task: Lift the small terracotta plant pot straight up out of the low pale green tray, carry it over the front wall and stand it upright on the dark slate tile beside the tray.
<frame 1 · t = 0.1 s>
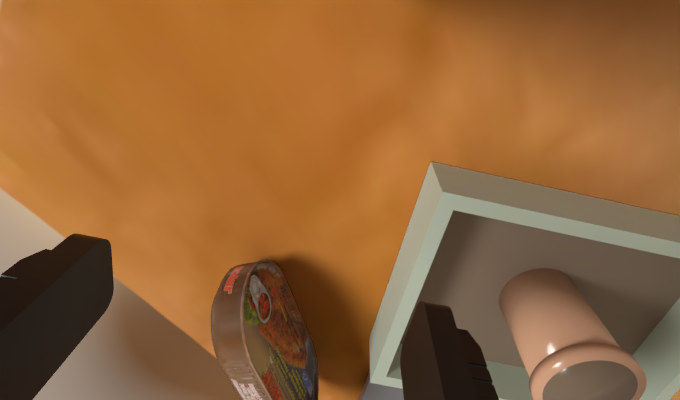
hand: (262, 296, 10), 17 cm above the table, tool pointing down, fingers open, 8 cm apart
clay pot: (536, 297, 30), point 1 cm above the table, touching pale green tray
pale green tray: (531, 288, 31), on the table
tin: (282, 310, 34), on the table
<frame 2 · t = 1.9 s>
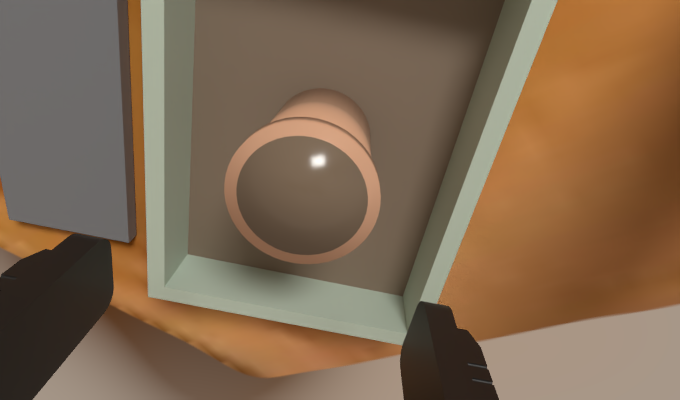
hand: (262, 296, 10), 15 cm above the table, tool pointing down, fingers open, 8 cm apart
clay pot: (321, 137, 23), point 1 cm above the table, touching pale green tray
pale green tray: (323, 132, 24), on the table
slate tile: (62, 78, 23), on the table
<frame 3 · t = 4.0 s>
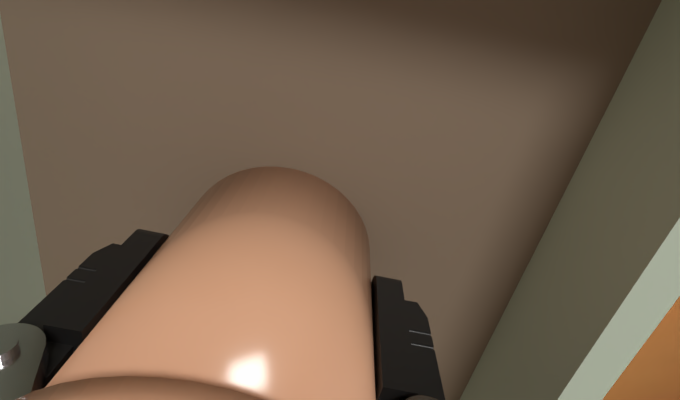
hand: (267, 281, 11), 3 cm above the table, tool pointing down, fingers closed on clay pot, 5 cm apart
clay pot: (278, 251, 12), point 1 cm above the table, touching pale green tray, gripper
pale green tray: (283, 234, 13), on the table
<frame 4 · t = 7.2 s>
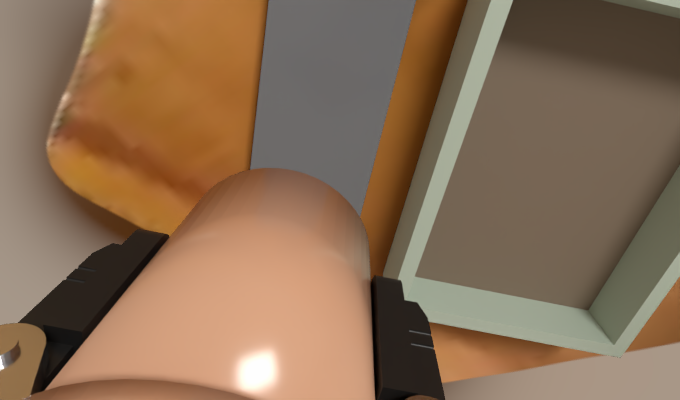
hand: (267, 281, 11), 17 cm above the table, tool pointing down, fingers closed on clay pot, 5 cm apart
clay pot: (278, 252, 12), point 15 cm above the table, touching gripper
pale green tray: (545, 168, 27), on the table
slate tile: (320, 120, 26), on the table
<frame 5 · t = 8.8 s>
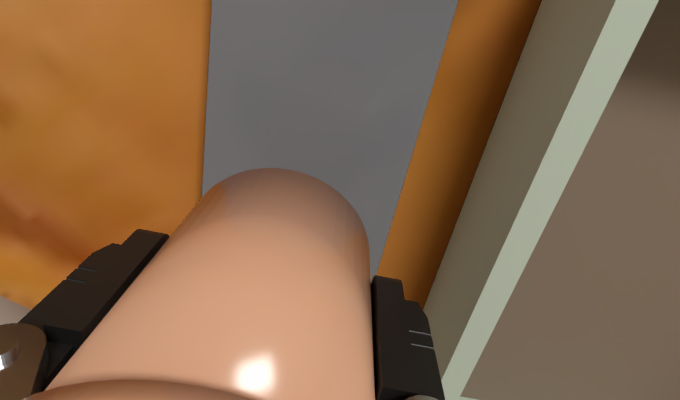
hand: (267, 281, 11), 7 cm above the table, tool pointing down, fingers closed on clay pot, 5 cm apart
clay pot: (278, 252, 12), point 6 cm above the table, touching gripper
pale green tray: (642, 251, 18), on the table
slate tile: (303, 182, 17), on the table
when the fingers open (4 cm above the table, at t = 10.4 s): clay pot drops 1 cm, resting on slate tile.
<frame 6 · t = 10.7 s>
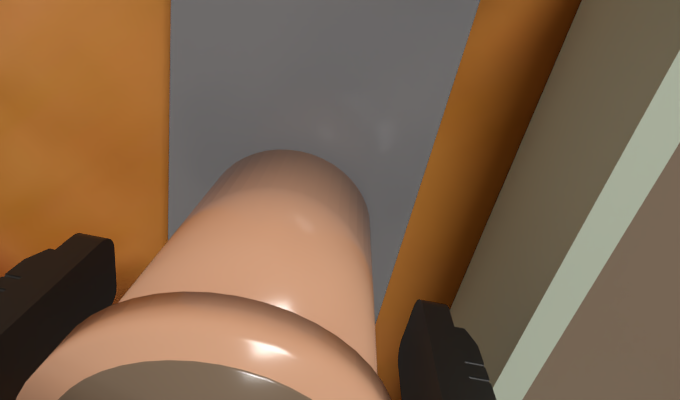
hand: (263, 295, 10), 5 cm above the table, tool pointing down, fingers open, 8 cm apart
clay pot: (288, 227, 14), point 1 cm above the table, touching slate tile
slate tile: (290, 213, 15), on the table
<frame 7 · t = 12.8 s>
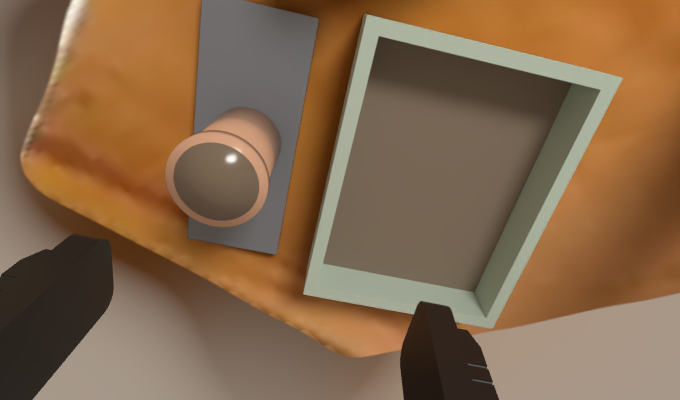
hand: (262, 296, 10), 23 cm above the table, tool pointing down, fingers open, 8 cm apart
clay pot: (245, 142, 32), point 1 cm above the table, touching slate tile
pale green tray: (429, 177, 34), on the table
slate tile: (247, 138, 32), on the table
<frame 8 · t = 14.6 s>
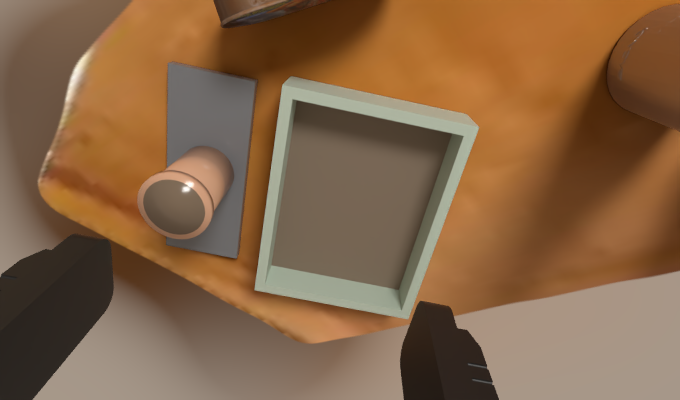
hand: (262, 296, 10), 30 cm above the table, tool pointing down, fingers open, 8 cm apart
clay pot: (207, 171, 41), point 1 cm above the table, touching slate tile
pale green tray: (354, 197, 42), on the table
slate tile: (209, 168, 42), on the table
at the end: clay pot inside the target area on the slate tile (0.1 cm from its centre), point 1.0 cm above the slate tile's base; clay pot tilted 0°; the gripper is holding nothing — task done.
